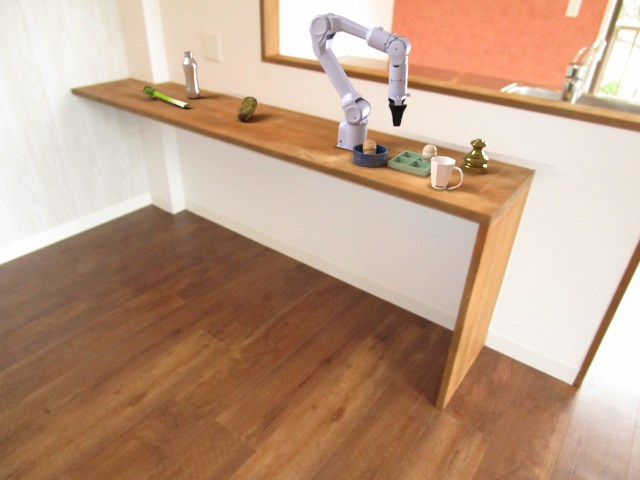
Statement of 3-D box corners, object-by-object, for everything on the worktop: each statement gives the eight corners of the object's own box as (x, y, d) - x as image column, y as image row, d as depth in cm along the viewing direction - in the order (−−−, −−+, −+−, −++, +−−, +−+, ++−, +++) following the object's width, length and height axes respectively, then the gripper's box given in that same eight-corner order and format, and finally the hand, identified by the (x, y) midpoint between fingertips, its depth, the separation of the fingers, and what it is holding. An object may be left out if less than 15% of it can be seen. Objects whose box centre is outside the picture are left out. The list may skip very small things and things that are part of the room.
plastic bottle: (203, 97, 214) (199, 51, 204) (193, 100, 209) (188, 53, 199) (194, 95, 217) (188, 50, 207) (183, 98, 212) (177, 52, 202)
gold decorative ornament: (489, 170, 144) (496, 139, 139) (478, 177, 139) (485, 145, 134) (467, 164, 148) (473, 134, 143) (456, 170, 143) (462, 139, 138)
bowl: (345, 163, 146) (346, 149, 144) (363, 154, 154) (364, 140, 151) (375, 171, 140) (377, 157, 138) (392, 161, 148) (394, 148, 146)
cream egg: (418, 165, 145) (421, 144, 142) (424, 161, 148) (427, 141, 145) (431, 168, 143) (434, 147, 140) (436, 164, 146) (439, 144, 143)
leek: (180, 114, 195) (139, 96, 210) (193, 113, 200) (152, 96, 215) (181, 100, 192) (139, 83, 207) (194, 99, 198) (152, 82, 212)
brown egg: (360, 158, 146) (360, 138, 147) (366, 162, 149) (366, 143, 151) (373, 156, 144) (372, 136, 145) (378, 160, 147) (378, 140, 148)
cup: (433, 180, 136) (437, 154, 132) (465, 189, 130) (470, 162, 126) (421, 187, 131) (425, 160, 127) (454, 197, 126) (459, 169, 122)
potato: (228, 120, 183) (227, 100, 179) (248, 113, 193) (247, 94, 189) (245, 123, 180) (244, 103, 176) (264, 116, 190) (263, 96, 186)
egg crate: (387, 167, 144) (387, 160, 142) (405, 156, 153) (406, 150, 152) (424, 177, 137) (425, 170, 136) (441, 165, 146) (442, 158, 145)
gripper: (412, 83, 136) (410, 128, 143) (409, 75, 149) (407, 117, 155) (388, 84, 137) (387, 129, 143) (387, 75, 150) (386, 117, 156)
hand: (396, 123), depth 149 cm, fingers open, 7 cm apart
